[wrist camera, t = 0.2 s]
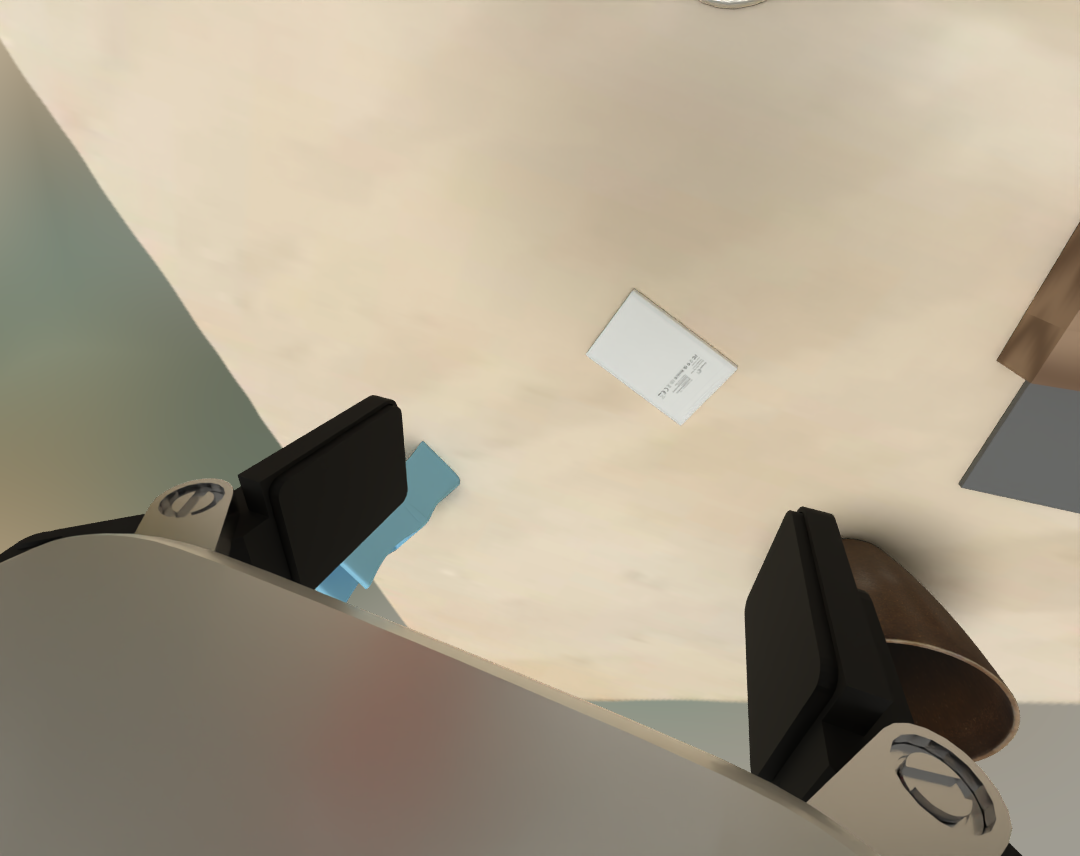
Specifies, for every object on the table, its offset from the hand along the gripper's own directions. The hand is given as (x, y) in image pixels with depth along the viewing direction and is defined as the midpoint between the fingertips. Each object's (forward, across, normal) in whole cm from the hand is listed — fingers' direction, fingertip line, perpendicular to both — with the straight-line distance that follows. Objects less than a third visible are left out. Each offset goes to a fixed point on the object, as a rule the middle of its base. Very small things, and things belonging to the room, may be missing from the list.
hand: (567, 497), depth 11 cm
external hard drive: (+38, 0, +9) cm, 39 cm away
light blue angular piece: (+37, +28, +33) cm, 57 cm away
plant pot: (+37, -24, +28) cm, 52 cm away
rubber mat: (+37, -34, +10) cm, 51 cm away
